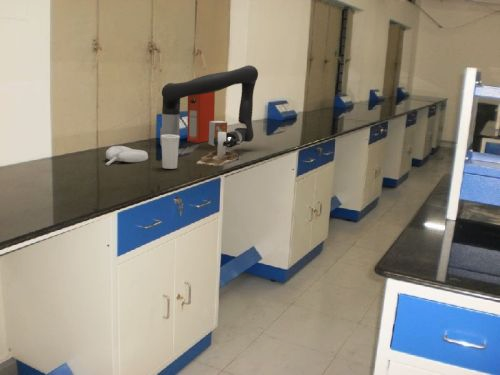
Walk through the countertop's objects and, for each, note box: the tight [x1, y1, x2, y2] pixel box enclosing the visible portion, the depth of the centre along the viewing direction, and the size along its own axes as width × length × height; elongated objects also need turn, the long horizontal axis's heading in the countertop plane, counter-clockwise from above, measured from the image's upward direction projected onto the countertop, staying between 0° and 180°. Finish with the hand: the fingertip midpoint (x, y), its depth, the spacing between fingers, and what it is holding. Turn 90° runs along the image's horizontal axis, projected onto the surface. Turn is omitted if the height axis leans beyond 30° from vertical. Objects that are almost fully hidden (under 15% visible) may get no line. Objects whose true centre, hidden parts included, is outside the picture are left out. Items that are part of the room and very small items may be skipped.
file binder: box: [186, 91, 216, 144], centre depth 314 cm, size 8×17×32 cm, turn 156°
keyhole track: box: [196, 150, 239, 167], centre depth 260 cm, size 12×22×3 cm, turn 161°
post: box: [216, 132, 227, 158], centre depth 263 cm, size 4×4×12 cm
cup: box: [161, 134, 180, 170], centre depth 239 cm, size 8×8×14 cm
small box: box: [208, 120, 228, 147], centre depth 304 cm, size 8×6×13 cm
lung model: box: [105, 145, 149, 166], centre depth 250 cm, size 7×17×25 cm
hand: (219, 143), depth 260 cm, fingers closed on post, 4 cm apart
